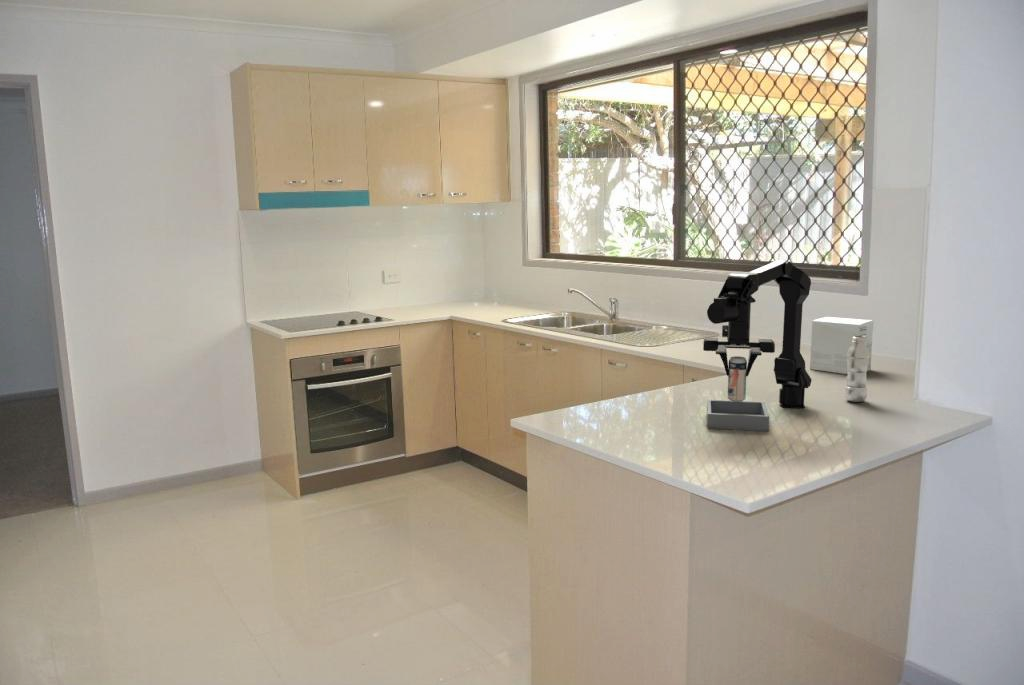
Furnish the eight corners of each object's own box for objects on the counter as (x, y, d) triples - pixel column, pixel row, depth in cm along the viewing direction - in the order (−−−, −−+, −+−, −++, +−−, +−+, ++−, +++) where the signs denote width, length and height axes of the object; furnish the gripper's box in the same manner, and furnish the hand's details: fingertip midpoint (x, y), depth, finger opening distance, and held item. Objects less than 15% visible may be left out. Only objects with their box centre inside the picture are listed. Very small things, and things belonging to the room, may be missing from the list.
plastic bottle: (867, 399, 247) (871, 335, 243) (866, 405, 241) (870, 339, 237) (844, 398, 249) (848, 334, 246) (843, 403, 243) (847, 337, 240)
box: (764, 415, 231) (764, 401, 230) (768, 431, 216) (769, 416, 215) (706, 412, 235) (707, 399, 234) (707, 428, 219) (707, 413, 219)
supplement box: (871, 370, 288) (874, 319, 285) (857, 376, 279) (860, 324, 276) (823, 363, 300) (826, 315, 297) (808, 369, 291) (811, 319, 287)
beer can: (725, 398, 227) (726, 356, 225) (741, 397, 227) (743, 355, 225) (731, 402, 222) (732, 359, 220) (747, 401, 222) (749, 359, 220)
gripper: (772, 316, 226) (770, 370, 229) (704, 315, 230) (702, 368, 233) (776, 322, 216) (773, 379, 218) (704, 320, 220) (702, 377, 223)
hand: (737, 375), depth 223 cm, fingers closed on beer can, 5 cm apart
